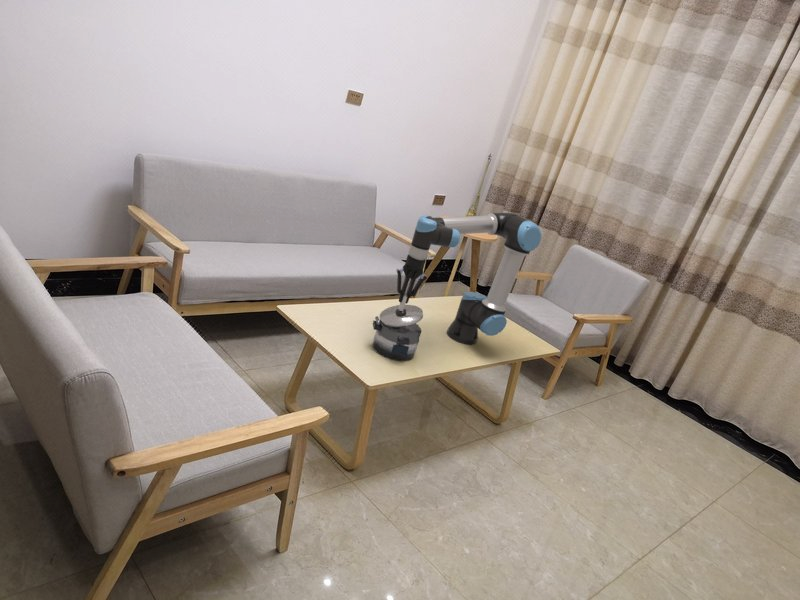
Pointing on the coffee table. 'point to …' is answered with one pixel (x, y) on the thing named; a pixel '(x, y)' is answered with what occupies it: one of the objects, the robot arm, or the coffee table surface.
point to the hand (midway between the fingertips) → (400, 309)
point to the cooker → (396, 341)
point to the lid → (400, 316)
